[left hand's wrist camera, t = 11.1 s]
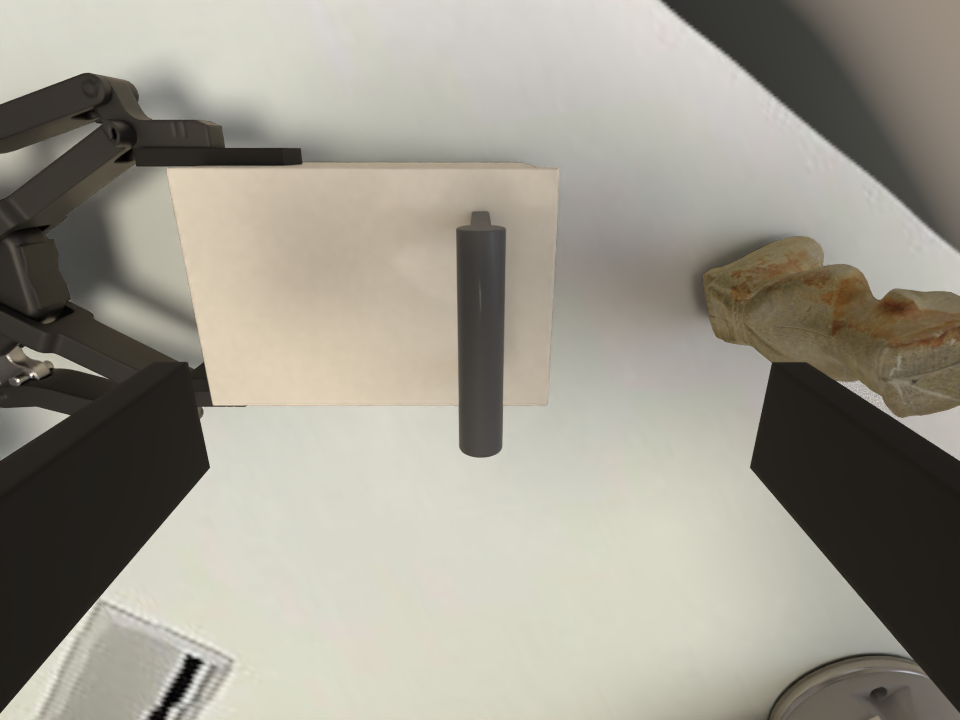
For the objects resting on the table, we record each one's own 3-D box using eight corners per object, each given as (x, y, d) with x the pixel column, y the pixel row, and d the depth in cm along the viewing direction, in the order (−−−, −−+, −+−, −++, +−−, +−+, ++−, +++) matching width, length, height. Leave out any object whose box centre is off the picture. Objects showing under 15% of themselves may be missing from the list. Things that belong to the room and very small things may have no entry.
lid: (555, 167, 22) (596, 175, 14) (544, 394, 26) (572, 495, 18) (181, 166, 22) (25, 175, 14) (224, 394, 26) (118, 496, 18)
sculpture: (811, 309, 34) (1044, 419, 20) (697, 340, 35) (844, 468, 21) (803, 218, 32) (1056, 270, 18) (682, 253, 33) (834, 330, 19)
